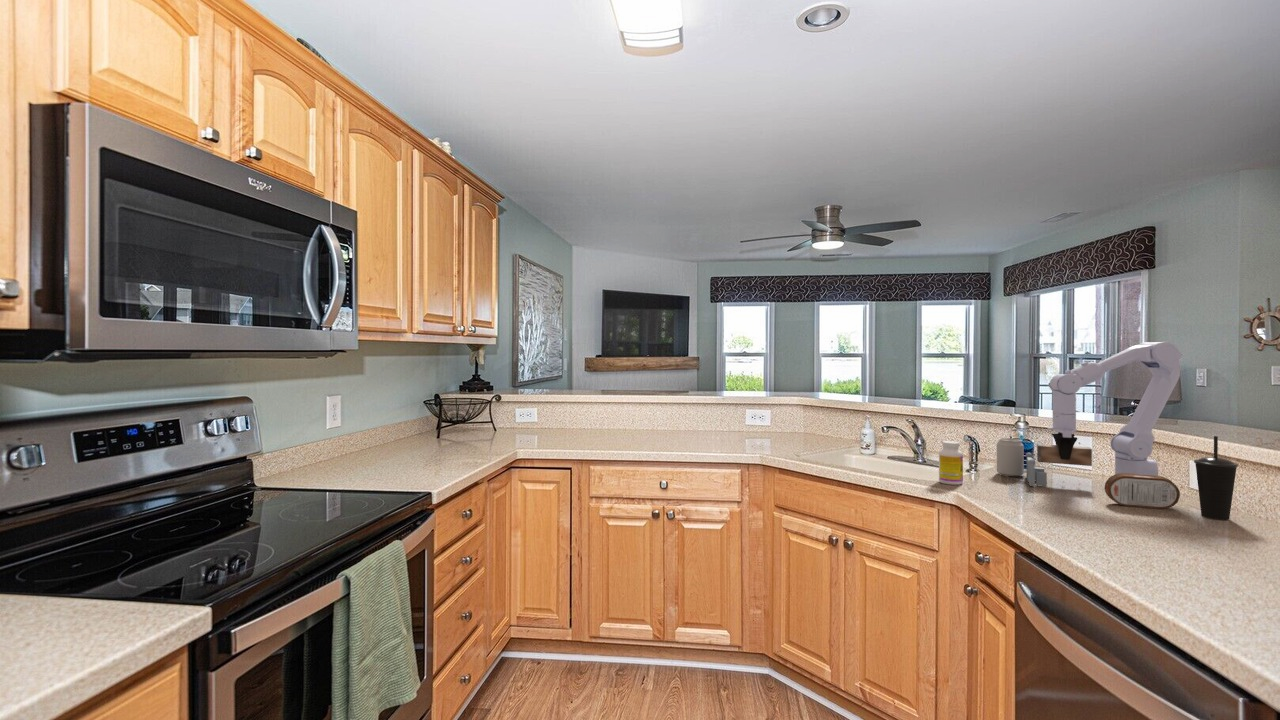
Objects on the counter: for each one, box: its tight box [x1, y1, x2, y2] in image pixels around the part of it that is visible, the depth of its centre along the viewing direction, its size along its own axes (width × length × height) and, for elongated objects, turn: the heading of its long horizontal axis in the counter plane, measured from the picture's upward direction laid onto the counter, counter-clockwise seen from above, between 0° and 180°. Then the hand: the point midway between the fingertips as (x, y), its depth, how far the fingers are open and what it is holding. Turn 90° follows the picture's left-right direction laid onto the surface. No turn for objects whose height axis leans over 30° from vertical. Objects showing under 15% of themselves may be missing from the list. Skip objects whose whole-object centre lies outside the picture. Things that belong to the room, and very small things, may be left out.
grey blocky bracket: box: [1025, 452, 1048, 488], centre depth 176 cm, size 5×14×8 cm, turn 149°
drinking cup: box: [1193, 435, 1239, 521], centre depth 139 cm, size 8×8×20 cm
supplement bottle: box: [938, 440, 964, 486], centre depth 177 cm, size 7×7×13 cm
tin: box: [1104, 473, 1181, 510], centre depth 149 cm, size 15×3×8 cm, turn 65°
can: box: [996, 437, 1025, 477], centre depth 187 cm, size 8×8×12 cm
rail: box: [1036, 443, 1093, 467], centre depth 173 cm, size 13×4×5 cm, turn 59°
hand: (1064, 458), depth 173 cm, fingers closed on rail, 4 cm apart
